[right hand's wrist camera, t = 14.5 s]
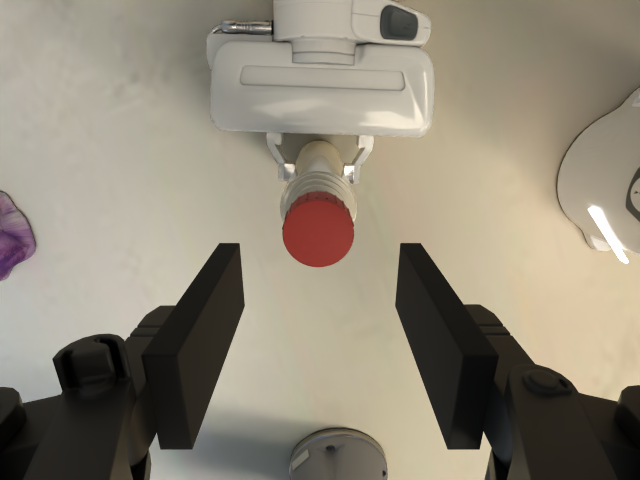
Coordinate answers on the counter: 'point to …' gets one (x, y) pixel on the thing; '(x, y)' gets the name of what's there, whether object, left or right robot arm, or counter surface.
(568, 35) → the counter surface
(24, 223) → the figurine
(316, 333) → the counter surface
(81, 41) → the counter surface
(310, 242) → the cap
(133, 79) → the counter surface
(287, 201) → the bottle
